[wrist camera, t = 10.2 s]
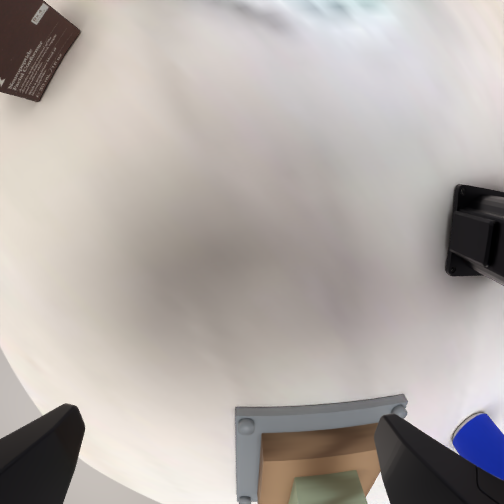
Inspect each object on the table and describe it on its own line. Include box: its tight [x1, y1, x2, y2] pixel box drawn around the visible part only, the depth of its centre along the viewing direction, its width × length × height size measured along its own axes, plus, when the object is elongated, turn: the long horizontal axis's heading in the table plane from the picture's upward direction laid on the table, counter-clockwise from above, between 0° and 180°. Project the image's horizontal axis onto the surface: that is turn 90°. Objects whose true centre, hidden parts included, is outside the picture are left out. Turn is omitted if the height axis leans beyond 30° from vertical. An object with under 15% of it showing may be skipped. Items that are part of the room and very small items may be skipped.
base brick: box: [257, 422, 381, 504], centre depth 21 cm, size 10×10×3 cm
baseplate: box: [235, 394, 408, 504], centre depth 23 cm, size 14×14×2 cm
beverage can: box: [453, 413, 504, 480], centre depth 17 cm, size 5×5×15 cm
